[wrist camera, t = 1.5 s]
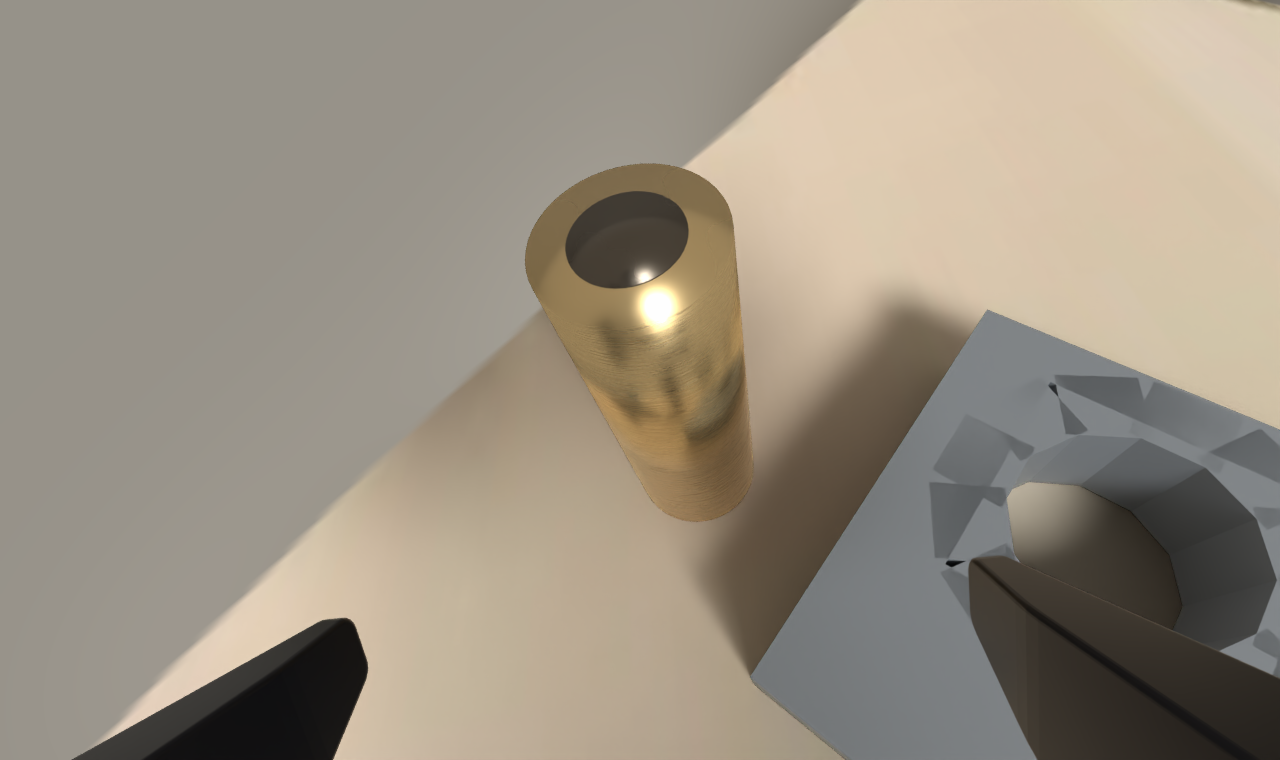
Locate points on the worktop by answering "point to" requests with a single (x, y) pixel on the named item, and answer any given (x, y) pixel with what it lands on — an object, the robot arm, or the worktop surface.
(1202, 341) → the worktop surface
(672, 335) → the bushing
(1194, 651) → the robot arm
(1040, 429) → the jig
